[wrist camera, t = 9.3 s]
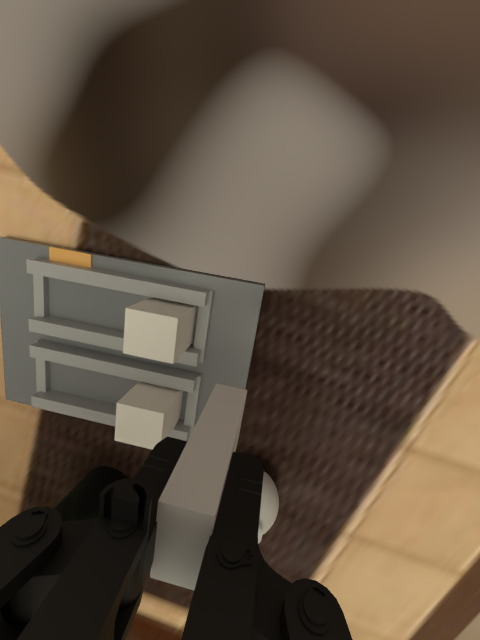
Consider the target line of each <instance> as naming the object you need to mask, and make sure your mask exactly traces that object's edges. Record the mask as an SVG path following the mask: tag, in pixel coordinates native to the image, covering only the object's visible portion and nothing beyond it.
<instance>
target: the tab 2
mask: <svg viewBox="0 0 480 640" xmlns="http://www.w3.org/2000/svg"><path fill="white" fill-rule="evenodd" d="M182 399H183V391H182V390H177V389H172V388H168V387H163V386H159V385H154V384H150V383H145V382H141V381H139V382H138V383H137V384H136V385H135V386H134V387H133V388H131V389H130V390H129V391H128V392H127V393H126V394H125V395H124V396H123V397H122V398H121V399H120V400H119V401H118V402H117V403H116V422H115V441H119V442H123V443H127V444H131V445H135V446H140V447H144V448H148V449H152V450H153V448H154V447H155V445H156V444H157V443H159V442H160V441H161V440H163V439H164V438H166V437H167V436H168V437H169V435H170V434H171V432H172V430H173V429H174V427H175V425H176V423H177V422H178V420H179V418H180V415H181V407H182Z"/></svg>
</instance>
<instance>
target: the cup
mask: <svg viewBox="0 0 480 640" xmlns="http://www.w3.org/2000/svg"><path fill="white" fill-rule="evenodd" d="M121 479H126V477H125V476H124V475H123V474H122V473H121V472H119V471H118V470H116V469H114V468H111V467H98V468H95V469H94V470H92V471H91V472H90V473H89V474H88V475H87V476H86V477H85V478H84V479H83V480H82V481H81V482H80V483H79V484H78V485H77V486H76V487H75V488H74V489H73V490H72V491H71V492H70V493H69V494H68V495H67V496H66V497H65V498H64V499H63V500H62V501H61V502H60V503H59V504H58V505H57V506H56V507H54V508H53V509H56V510H57V511H58V512H59V514H60V515H61V519H62V521H77V520H88V519H94V518H96V517H99V503H100V492H101V491H102V490H103V489H104V488H105V487H106V486H107V485H109V484H111V483H113V482H115V481H117V480H121Z"/></svg>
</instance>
